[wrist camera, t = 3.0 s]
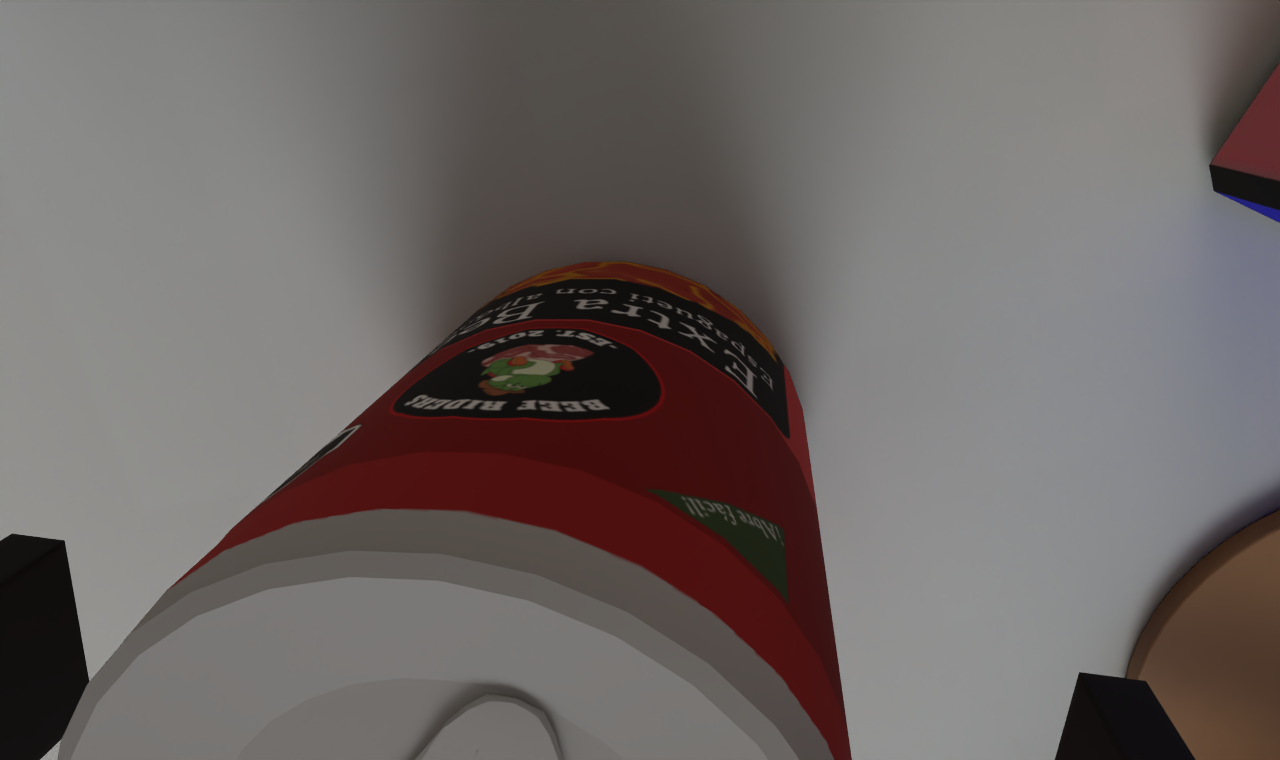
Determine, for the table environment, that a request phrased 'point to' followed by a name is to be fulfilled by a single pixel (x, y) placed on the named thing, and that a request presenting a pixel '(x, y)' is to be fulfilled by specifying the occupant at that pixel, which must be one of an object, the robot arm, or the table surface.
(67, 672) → the robot arm
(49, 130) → the table surface
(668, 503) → the canned food
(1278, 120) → the puzzle cube
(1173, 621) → the coaster
